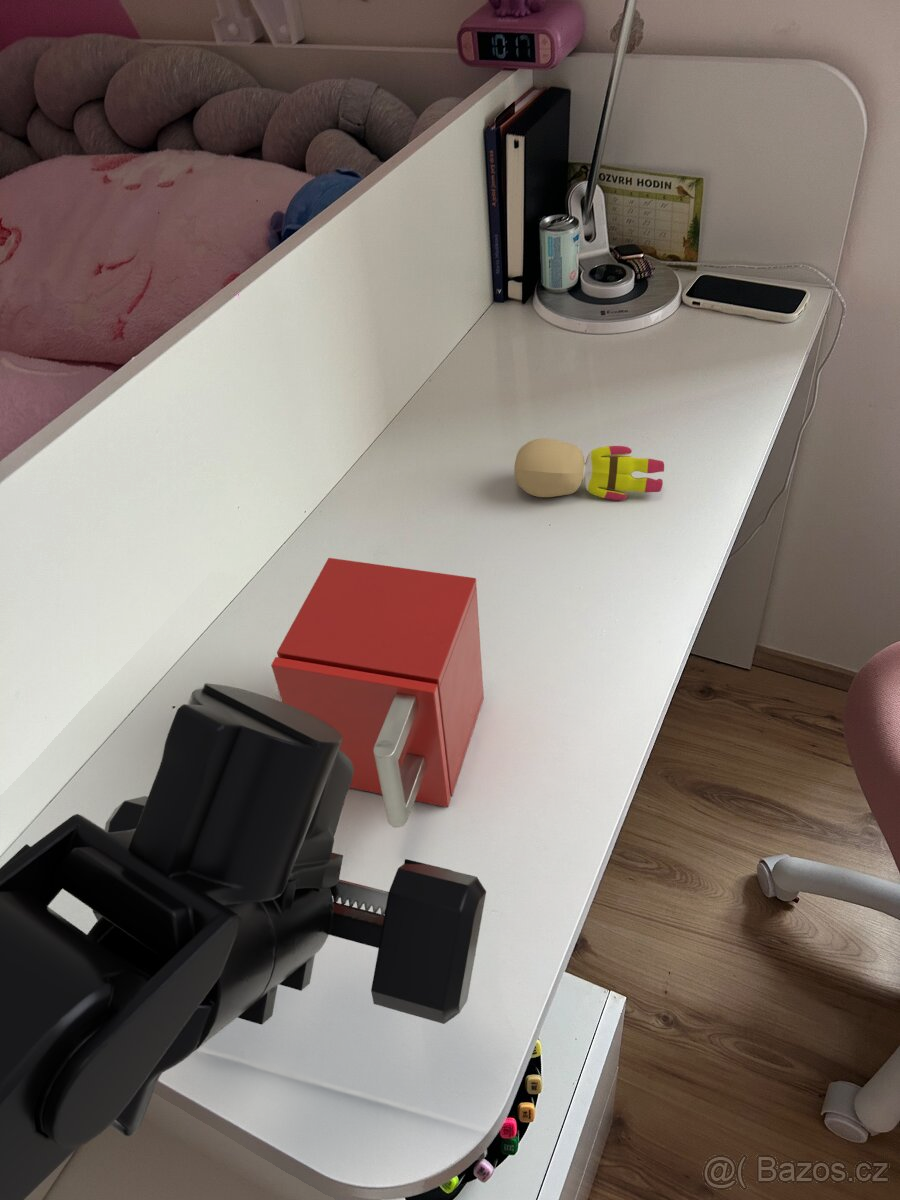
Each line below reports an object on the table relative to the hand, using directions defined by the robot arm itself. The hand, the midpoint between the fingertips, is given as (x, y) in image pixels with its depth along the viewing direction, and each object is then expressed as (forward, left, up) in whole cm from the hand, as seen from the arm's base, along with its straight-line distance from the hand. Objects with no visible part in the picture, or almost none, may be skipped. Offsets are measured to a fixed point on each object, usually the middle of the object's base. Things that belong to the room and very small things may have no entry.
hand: (343, 866), depth 52 cm
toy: (+33, +42, -13) cm, 55 cm away
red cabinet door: (+2, +11, -13) cm, 17 cm away
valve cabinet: (+6, +18, -13) cm, 23 cm away
